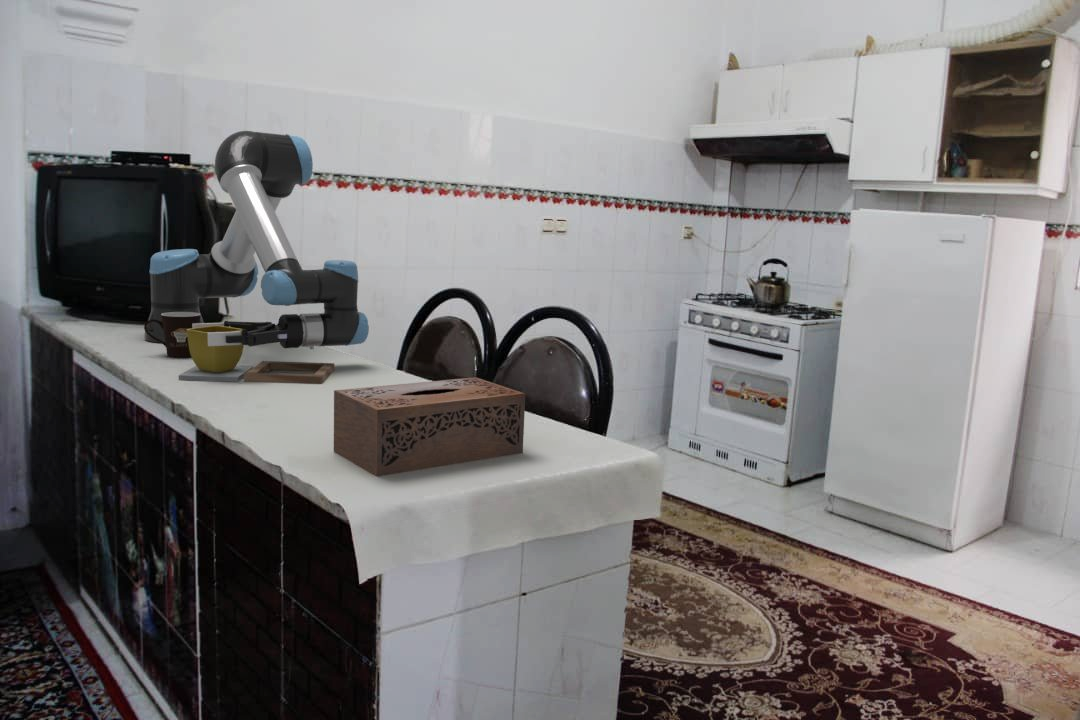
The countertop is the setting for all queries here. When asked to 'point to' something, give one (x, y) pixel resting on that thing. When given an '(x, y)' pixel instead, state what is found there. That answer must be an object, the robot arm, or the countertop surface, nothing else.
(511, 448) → the tissue box cover
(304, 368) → the board
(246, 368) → the mat
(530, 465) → the countertop surface
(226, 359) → the flower pot
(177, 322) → the coffee mug
